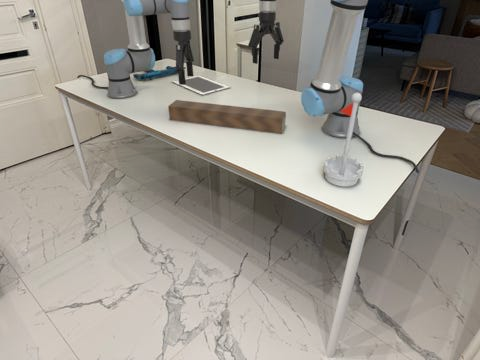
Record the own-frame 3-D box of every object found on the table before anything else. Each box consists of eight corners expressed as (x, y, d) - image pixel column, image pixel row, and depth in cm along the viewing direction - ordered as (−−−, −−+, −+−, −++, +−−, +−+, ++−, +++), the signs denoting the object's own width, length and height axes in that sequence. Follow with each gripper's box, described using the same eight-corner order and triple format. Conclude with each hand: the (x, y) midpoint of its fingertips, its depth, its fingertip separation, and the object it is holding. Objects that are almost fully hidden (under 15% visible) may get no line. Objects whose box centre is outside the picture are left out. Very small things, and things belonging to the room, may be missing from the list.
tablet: (172, 82, 209) (172, 81, 209) (199, 75, 220) (199, 75, 220) (202, 95, 189) (202, 94, 188) (230, 87, 200) (230, 87, 200)
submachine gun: (171, 61, 241) (190, 66, 224) (171, 66, 243) (190, 72, 226) (125, 69, 222) (142, 76, 205) (126, 75, 224) (143, 82, 207)
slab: (284, 126, 154) (286, 111, 150) (281, 133, 147) (282, 118, 144) (177, 113, 167) (176, 99, 163) (169, 119, 160) (168, 105, 157)
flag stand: (345, 165, 124) (361, 84, 108) (368, 183, 114) (390, 97, 98) (314, 171, 121) (326, 88, 104) (336, 191, 110) (352, 103, 94)
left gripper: (181, 25, 155) (185, 72, 167) (163, 35, 134) (170, 88, 146) (197, 25, 154) (200, 73, 166) (182, 35, 134) (187, 88, 145)
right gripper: (281, 8, 159) (279, 55, 170) (240, 13, 146) (240, 63, 157) (293, 9, 154) (289, 58, 166) (251, 14, 141) (251, 66, 152)
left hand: (186, 80), depth 156 cm, fingers open, 13 cm apart
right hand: (265, 60), depth 161 cm, fingers open, 13 cm apart
